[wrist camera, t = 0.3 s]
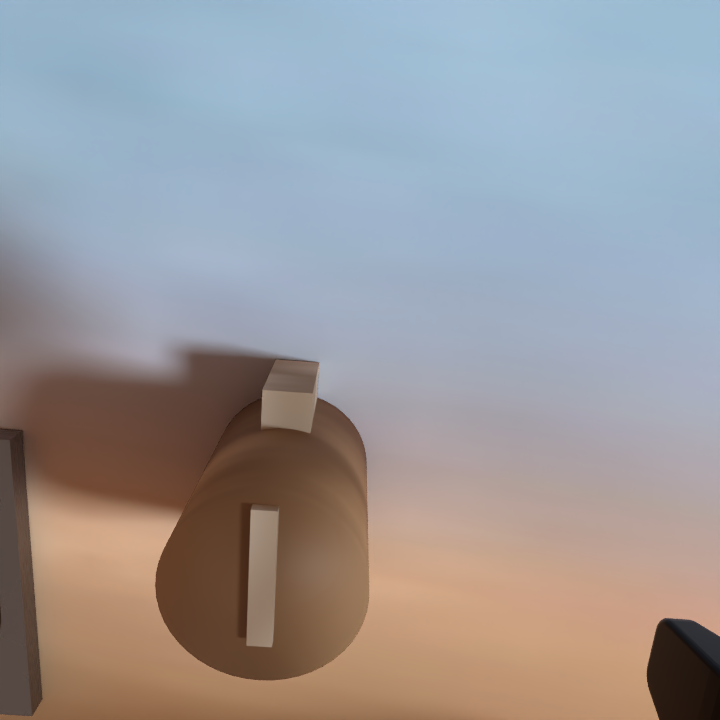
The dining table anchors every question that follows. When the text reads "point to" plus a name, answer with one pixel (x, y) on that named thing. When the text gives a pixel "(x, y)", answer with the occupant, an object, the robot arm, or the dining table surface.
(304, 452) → the knob
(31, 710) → the base plate
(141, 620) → the dining table surface
